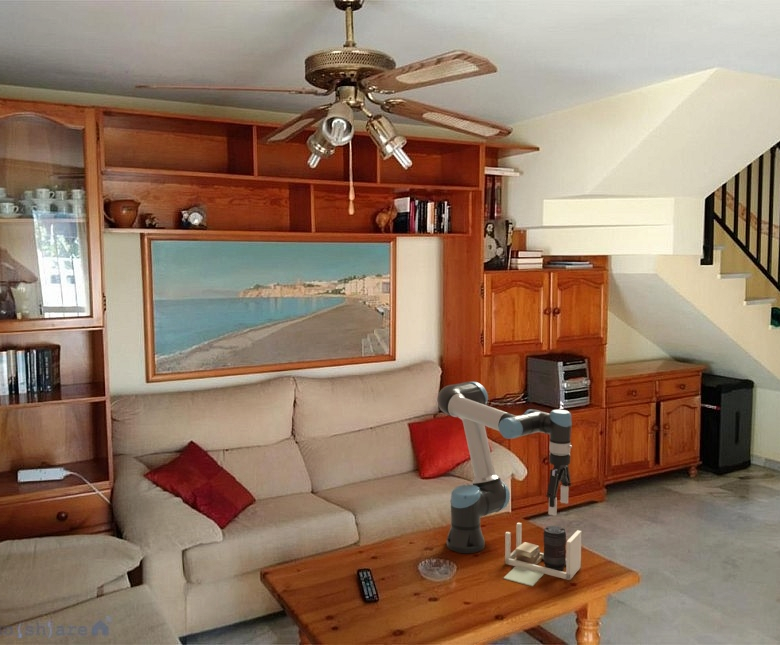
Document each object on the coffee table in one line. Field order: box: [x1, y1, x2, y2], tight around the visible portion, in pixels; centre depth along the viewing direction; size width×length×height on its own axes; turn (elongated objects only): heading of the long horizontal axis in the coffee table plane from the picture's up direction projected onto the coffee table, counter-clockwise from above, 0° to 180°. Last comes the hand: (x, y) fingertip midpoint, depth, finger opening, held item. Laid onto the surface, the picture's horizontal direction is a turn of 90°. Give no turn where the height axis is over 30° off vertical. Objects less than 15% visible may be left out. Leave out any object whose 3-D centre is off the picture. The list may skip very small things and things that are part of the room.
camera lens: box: [543, 525, 567, 572], centre depth 258 cm, size 8×8×15 cm
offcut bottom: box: [514, 556, 543, 565], centre depth 264 cm, size 8×8×2 cm
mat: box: [503, 566, 545, 587], centre depth 252 cm, size 11×11×1 cm
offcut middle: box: [515, 549, 541, 563], centre depth 264 cm, size 7×7×2 cm
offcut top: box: [515, 541, 540, 558], centre depth 263 cm, size 6×8×2 cm
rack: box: [504, 522, 582, 581], centre depth 260 cm, size 25×12×14 cm, turn 57°
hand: (558, 508), depth 257 cm, fingers open, 13 cm apart
